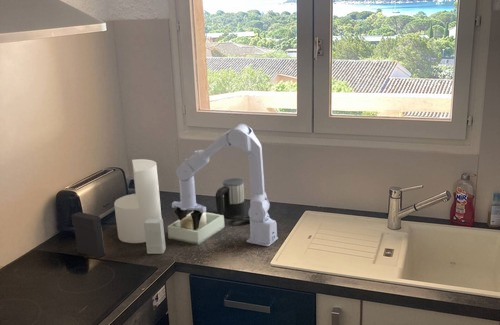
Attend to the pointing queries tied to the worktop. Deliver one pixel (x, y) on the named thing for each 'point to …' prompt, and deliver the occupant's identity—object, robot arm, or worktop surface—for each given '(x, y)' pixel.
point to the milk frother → (232, 199)
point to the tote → (196, 237)
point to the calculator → (88, 234)
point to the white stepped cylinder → (139, 203)
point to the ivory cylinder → (202, 221)
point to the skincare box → (154, 236)
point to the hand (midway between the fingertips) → (190, 227)
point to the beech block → (187, 223)
